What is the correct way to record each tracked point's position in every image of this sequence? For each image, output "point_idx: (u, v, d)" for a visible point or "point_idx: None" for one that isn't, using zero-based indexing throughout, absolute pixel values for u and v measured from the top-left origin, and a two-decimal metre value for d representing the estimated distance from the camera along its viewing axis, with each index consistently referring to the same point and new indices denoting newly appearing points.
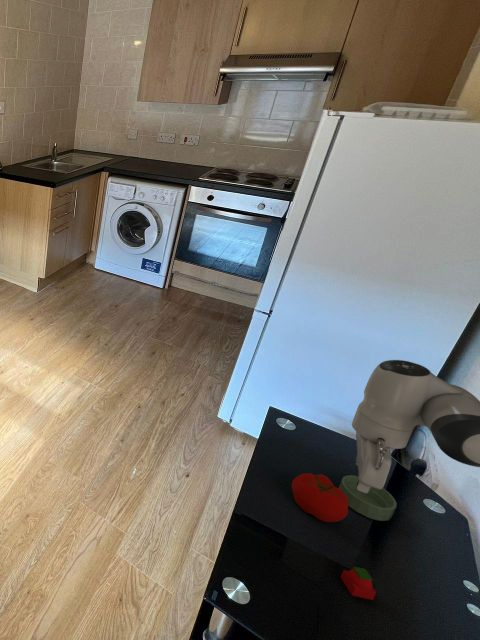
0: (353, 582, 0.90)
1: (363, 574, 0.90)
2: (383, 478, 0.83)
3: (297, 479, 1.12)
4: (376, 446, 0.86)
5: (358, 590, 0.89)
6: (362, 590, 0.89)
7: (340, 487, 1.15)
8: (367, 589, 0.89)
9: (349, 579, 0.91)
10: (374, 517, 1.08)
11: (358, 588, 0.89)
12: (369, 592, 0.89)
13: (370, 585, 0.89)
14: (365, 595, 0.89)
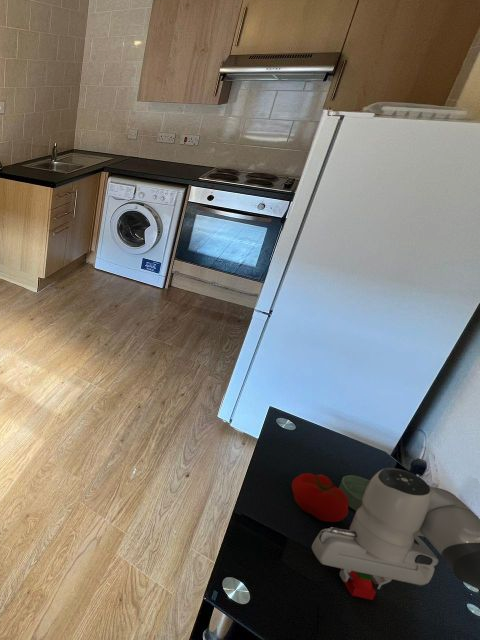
0: (353, 582, 0.90)
1: (363, 574, 0.90)
2: (322, 551, 0.89)
3: (297, 479, 1.12)
4: None
5: (358, 590, 0.89)
6: (362, 590, 0.89)
7: (340, 487, 1.15)
8: (367, 589, 0.89)
9: None
10: None
11: (358, 588, 0.89)
12: (369, 592, 0.89)
13: (370, 585, 0.89)
14: (365, 595, 0.89)
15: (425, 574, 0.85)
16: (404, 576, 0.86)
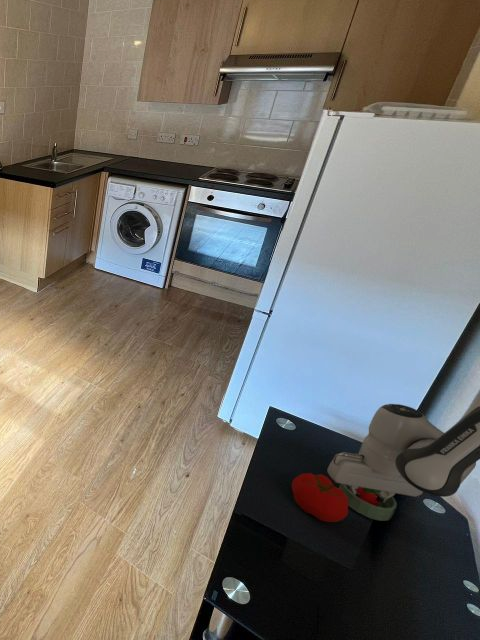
0: (360, 497, 1.11)
1: (369, 489, 1.11)
2: (336, 471, 1.10)
3: (297, 479, 1.12)
4: None
5: None
6: (368, 502, 1.10)
7: (340, 487, 1.15)
8: (372, 501, 1.10)
9: None
10: (374, 517, 1.08)
11: (365, 501, 1.10)
12: (374, 503, 1.10)
13: (374, 498, 1.10)
14: None
15: None
16: (402, 489, 1.07)
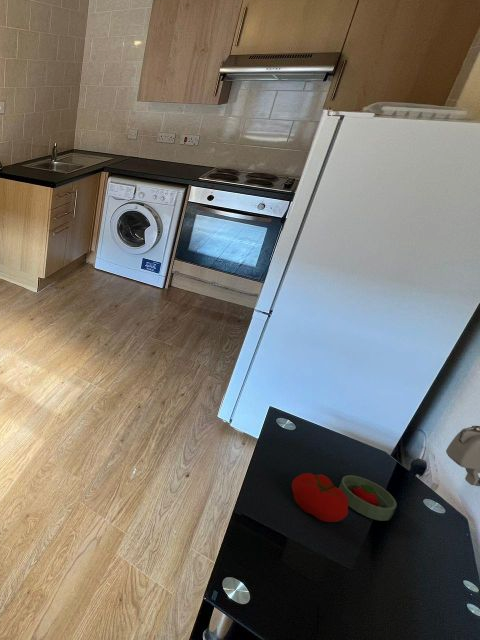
0: (361, 497, 1.11)
1: (369, 489, 1.11)
2: (463, 452, 0.82)
3: (297, 479, 1.12)
4: None
5: None
6: (368, 502, 1.10)
7: (340, 487, 1.15)
8: (372, 501, 1.10)
9: (357, 495, 1.12)
10: (374, 517, 1.08)
11: (365, 501, 1.10)
12: (374, 503, 1.10)
13: (375, 498, 1.10)
14: None
15: None
16: None
